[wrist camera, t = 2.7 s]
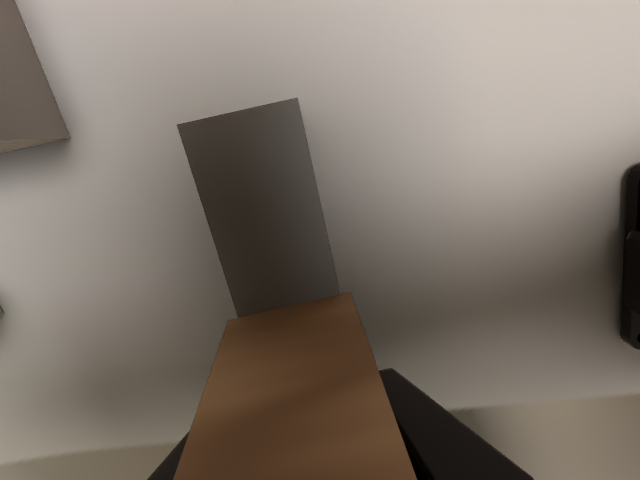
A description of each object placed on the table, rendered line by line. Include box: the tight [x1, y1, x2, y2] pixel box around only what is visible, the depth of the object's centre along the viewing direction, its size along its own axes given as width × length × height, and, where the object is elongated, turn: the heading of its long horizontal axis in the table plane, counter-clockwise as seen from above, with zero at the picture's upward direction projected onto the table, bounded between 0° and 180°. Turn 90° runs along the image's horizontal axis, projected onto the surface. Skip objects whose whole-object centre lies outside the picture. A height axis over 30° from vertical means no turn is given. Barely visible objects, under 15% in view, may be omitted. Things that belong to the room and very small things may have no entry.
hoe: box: [173, 98, 417, 480], centre depth 8 cm, size 3×12×9 cm, turn 12°
